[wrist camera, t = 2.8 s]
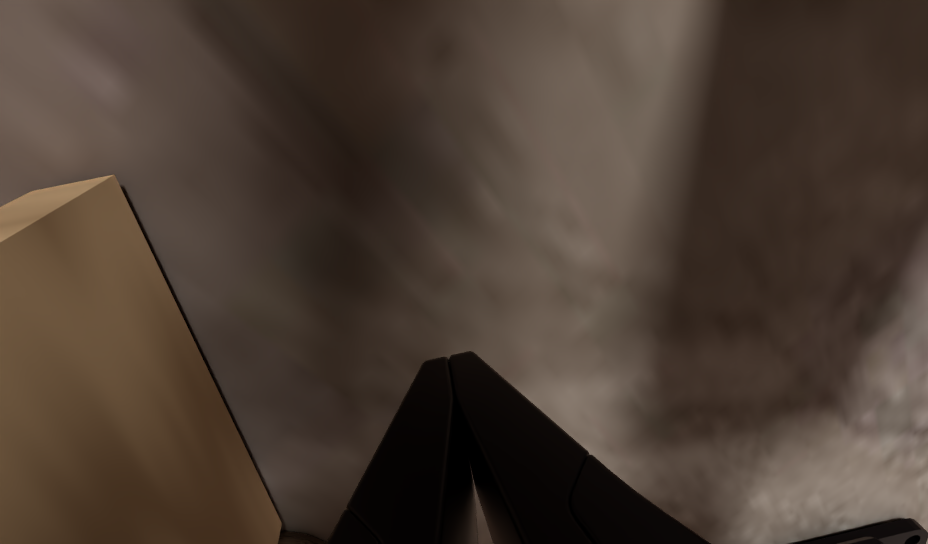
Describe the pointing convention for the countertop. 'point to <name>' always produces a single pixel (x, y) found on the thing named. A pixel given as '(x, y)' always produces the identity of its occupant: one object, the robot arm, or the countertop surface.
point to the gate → (109, 389)
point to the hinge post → (297, 538)
